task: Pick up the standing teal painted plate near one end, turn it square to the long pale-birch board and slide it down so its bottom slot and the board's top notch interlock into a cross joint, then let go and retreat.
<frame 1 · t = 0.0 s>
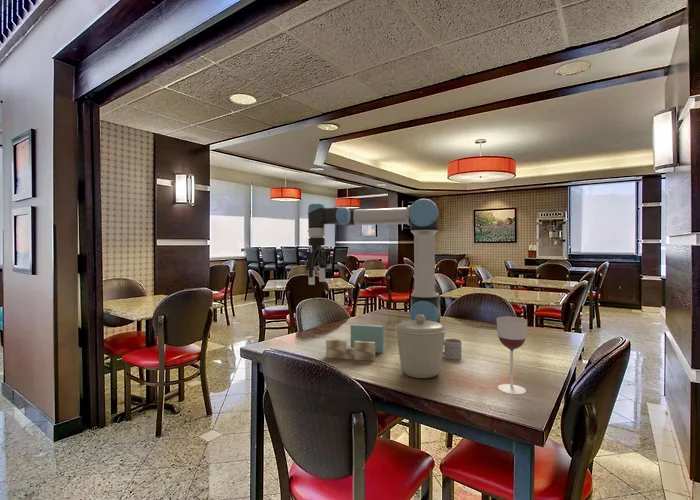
hand: (317, 283, 176), 28 cm above the table, fingers open, 13 cm apart
canister: (420, 374, 134), on the table
wineglass: (511, 389, 120), on the table
teal slotted plate: (367, 350, 163), on the table
mug: (448, 357, 154), on the table
birch notched board: (350, 358, 153), on the table
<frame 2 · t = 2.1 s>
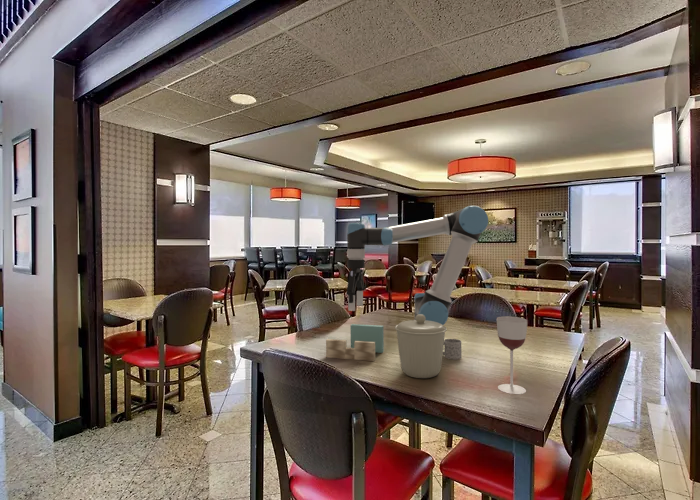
hand: (355, 308, 164), 18 cm above the table, fingers open, 13 cm apart
nothing on the table moved.
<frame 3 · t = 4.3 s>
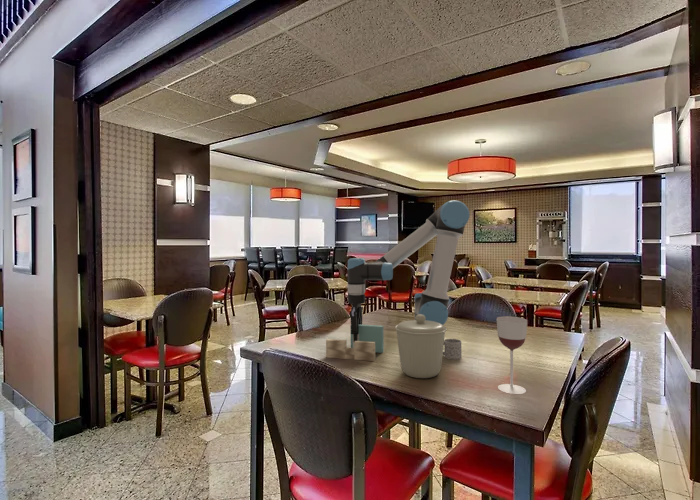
hand: (356, 347, 165), 1 cm above the table, fingers closed on teal slotted plate, 2 cm apart
teal slotted plate: (367, 350, 163), on the table, touching gripper
everything else where it was.
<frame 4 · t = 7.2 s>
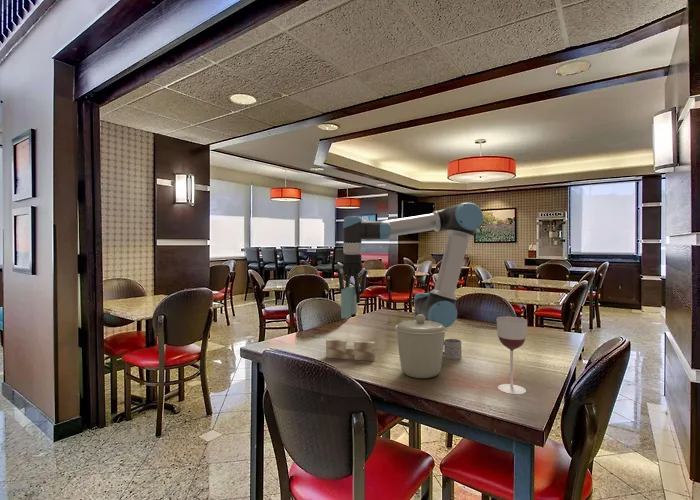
hand: (352, 310, 157), 19 cm above the table, fingers closed on teal slotted plate, 2 cm apart
teal slotted plate: (349, 315, 153), point 18 cm above the table, touching gripper
everything else where it was.
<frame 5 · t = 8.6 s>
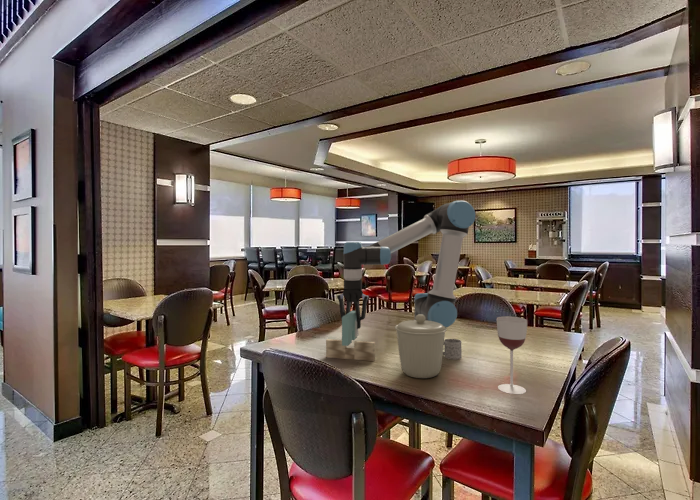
hand: (353, 335, 157), 8 cm above the table, fingers closed on teal slotted plate, 2 cm apart
teal slotted plate: (350, 341, 153), point 7 cm above the table, touching gripper
everything else where it was.
when the fingers open (2 cm above the table, at t = 9.9 s): teal slotted plate drops 1 cm, on the table.
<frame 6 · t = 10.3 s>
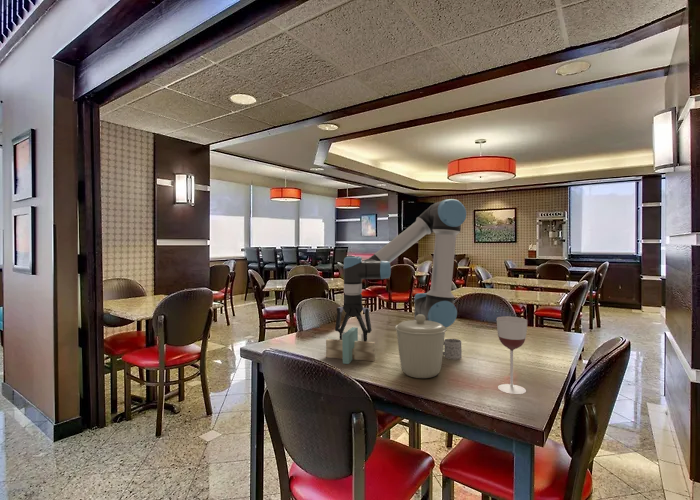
hand: (353, 348, 157), 3 cm above the table, fingers open, 8 cm apart
teal slotted plate: (350, 358, 153), on the table
everything else where it was.
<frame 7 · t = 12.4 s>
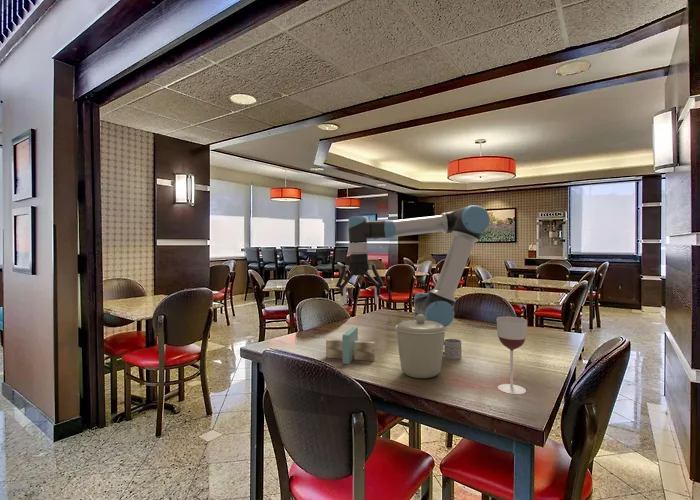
hand: (360, 303, 160), 21 cm above the table, fingers open, 13 cm apart
nothing on the table moved.
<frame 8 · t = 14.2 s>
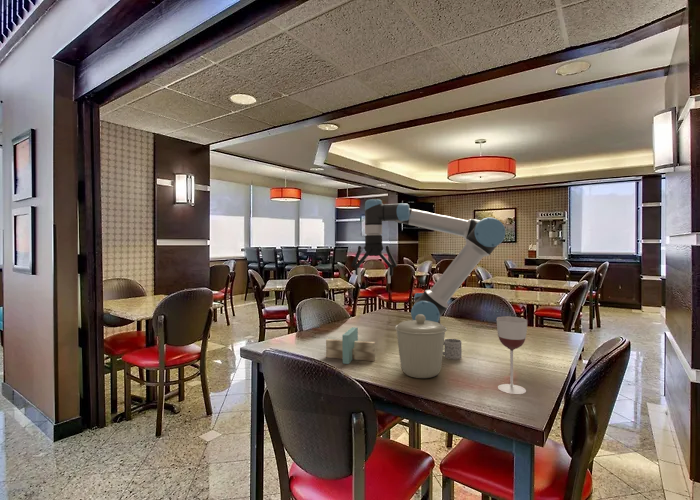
hand: (374, 282, 168), 29 cm above the table, fingers open, 13 cm apart
nothing on the table moved.
at the end: teal slotted plate 0.0 cm off-centre on the birch notched board, point 0.0 cm above the birch notched board's base; teal slotted plate tilted 0°; the gripper is holding nothing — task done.
